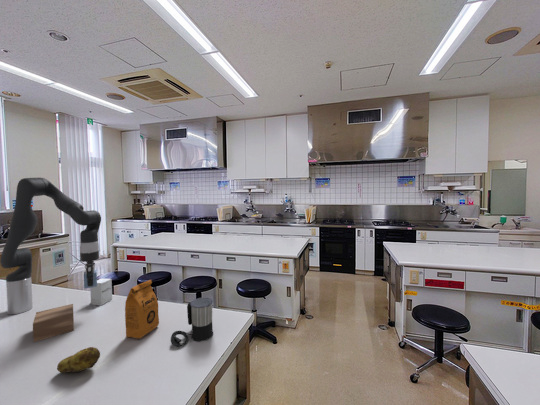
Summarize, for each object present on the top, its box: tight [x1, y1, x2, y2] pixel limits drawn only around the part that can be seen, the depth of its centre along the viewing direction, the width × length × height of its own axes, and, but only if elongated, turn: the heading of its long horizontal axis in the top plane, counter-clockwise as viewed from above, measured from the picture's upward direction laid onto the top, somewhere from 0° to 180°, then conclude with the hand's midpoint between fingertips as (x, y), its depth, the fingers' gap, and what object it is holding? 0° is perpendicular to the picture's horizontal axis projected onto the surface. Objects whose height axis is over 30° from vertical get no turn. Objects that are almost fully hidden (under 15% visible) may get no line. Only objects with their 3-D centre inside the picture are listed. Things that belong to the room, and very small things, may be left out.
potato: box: [56, 346, 101, 374], centre depth 82 cm, size 8×13×8 cm, turn 71°
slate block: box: [83, 269, 98, 290], centre depth 118 cm, size 5×5×7 cm
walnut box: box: [32, 303, 75, 343], centre depth 108 cm, size 13×13×8 cm
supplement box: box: [89, 278, 113, 306], centre depth 136 cm, size 7×7×13 cm
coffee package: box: [124, 279, 160, 339], centre depth 105 cm, size 10×12×22 cm
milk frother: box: [170, 297, 214, 348], centre depth 100 cm, size 14×16×15 cm
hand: (90, 284), depth 119 cm, fingers closed on slate block, 5 cm apart
